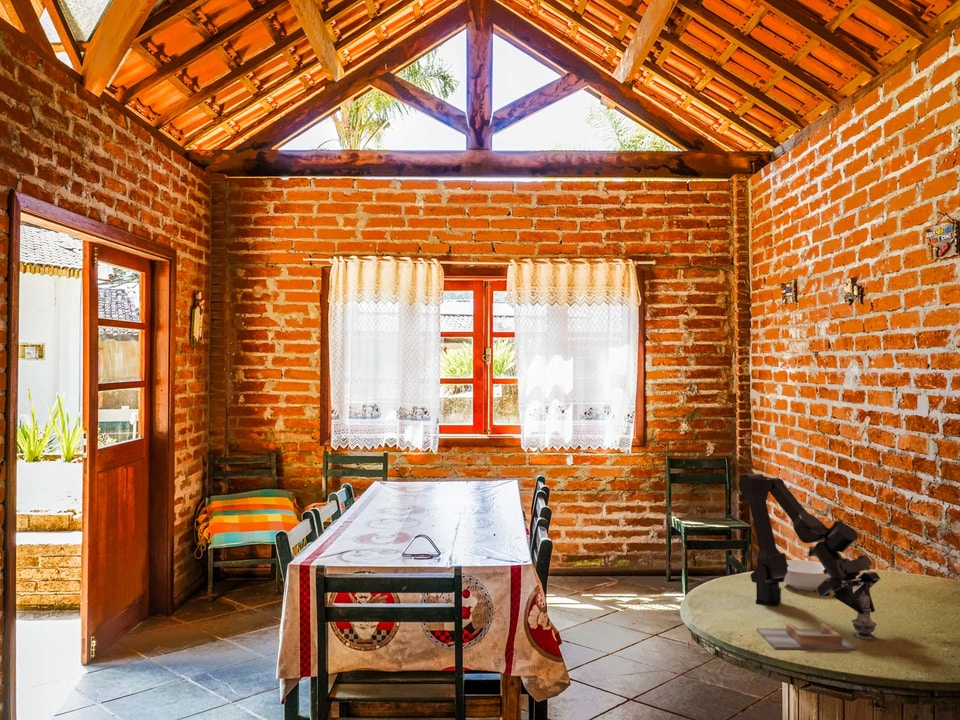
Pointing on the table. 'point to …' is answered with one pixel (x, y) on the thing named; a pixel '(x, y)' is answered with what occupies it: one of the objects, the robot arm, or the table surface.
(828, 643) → the wooden u-frame tray
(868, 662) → the table surface
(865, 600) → the salt shaker
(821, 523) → the robot arm
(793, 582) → the cereal bowl
